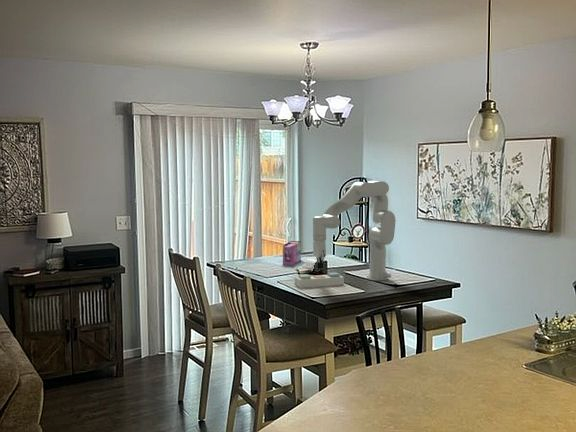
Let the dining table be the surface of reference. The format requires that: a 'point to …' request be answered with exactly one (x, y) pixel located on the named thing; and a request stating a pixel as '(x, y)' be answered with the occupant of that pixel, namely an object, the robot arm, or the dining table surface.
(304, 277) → the sage button
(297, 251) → the gum box
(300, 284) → the button panel
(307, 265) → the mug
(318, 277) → the terracotta button
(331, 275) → the slate button
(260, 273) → the dining table surface
